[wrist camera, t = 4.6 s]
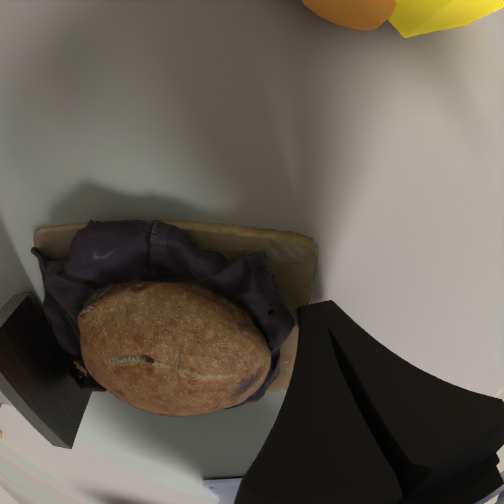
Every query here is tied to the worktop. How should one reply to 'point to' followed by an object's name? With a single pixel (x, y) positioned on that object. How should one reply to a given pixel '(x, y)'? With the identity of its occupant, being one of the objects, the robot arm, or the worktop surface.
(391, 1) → the yellow banana
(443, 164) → the worktop surface
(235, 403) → the bread roll
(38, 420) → the grey angular piece
